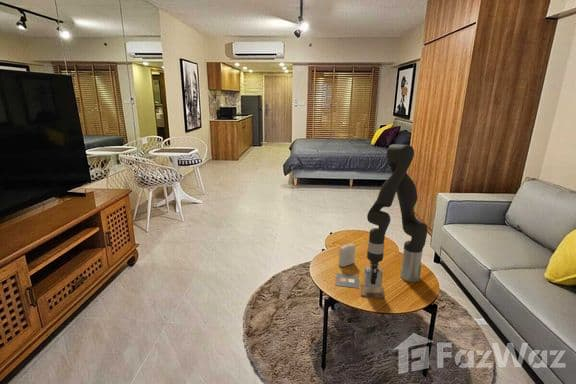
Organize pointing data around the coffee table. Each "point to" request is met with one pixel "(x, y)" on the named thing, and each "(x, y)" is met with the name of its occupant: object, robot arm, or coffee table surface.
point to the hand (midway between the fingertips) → (372, 280)
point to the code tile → (347, 280)
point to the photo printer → (346, 255)
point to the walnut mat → (372, 292)
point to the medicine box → (368, 278)
